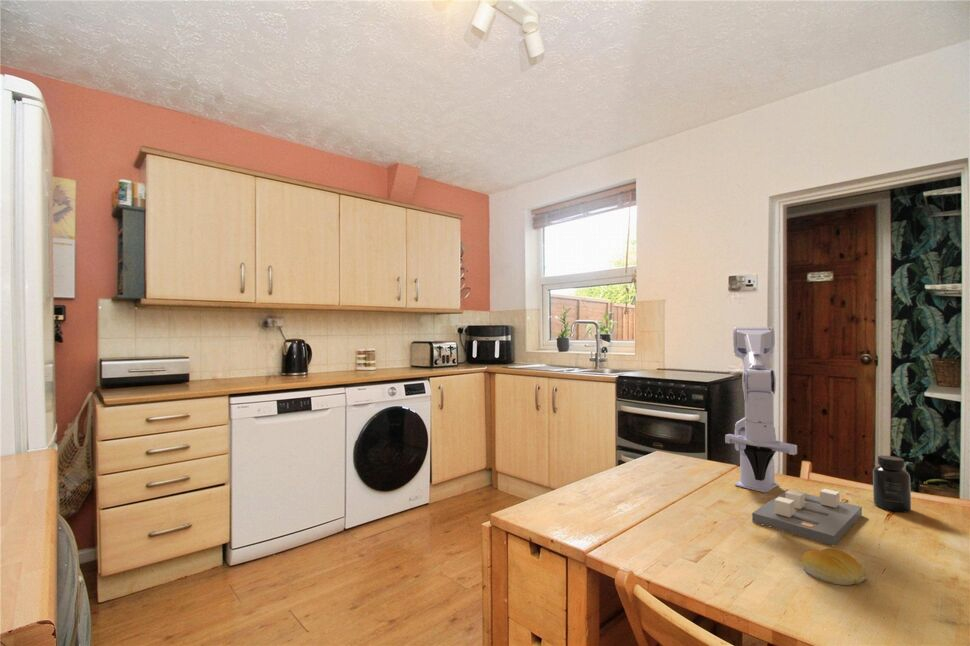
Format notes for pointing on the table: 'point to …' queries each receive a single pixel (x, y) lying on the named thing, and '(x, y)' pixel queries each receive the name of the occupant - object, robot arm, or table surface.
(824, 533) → the switch panel
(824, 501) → the block
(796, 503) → the slider middle
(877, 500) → the supplement bottle
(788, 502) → the block
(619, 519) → the table surface
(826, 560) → the bread roll
